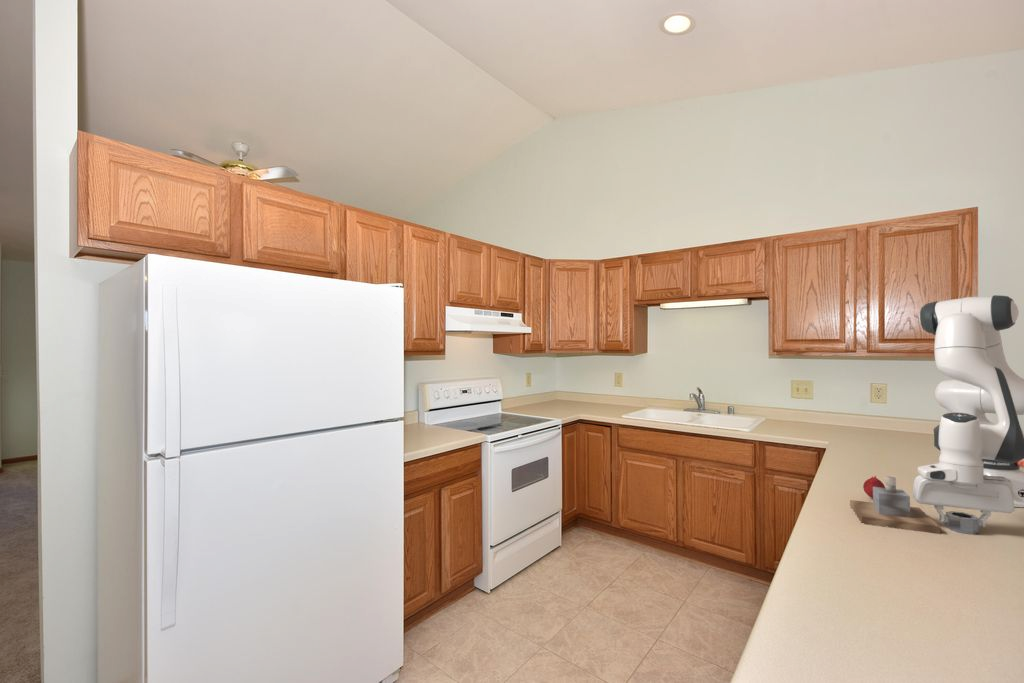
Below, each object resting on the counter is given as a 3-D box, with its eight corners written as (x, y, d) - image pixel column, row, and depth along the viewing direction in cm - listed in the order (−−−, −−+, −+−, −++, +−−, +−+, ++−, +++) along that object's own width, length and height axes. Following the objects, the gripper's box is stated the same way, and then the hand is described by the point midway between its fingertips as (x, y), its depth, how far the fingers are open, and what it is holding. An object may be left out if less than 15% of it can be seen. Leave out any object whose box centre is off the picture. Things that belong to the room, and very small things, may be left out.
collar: (972, 527, 129) (971, 513, 129) (982, 535, 123) (981, 520, 123) (943, 524, 131) (943, 510, 131) (952, 531, 126) (951, 517, 126)
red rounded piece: (889, 503, 149) (889, 478, 149) (869, 502, 150) (869, 477, 151) (879, 497, 155) (879, 473, 155) (859, 496, 156) (859, 472, 156)
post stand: (919, 514, 139) (918, 474, 139) (939, 533, 125) (938, 488, 125) (850, 506, 147) (849, 468, 147) (861, 523, 132) (860, 481, 132)
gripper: (1006, 474, 126) (1008, 526, 125) (910, 466, 135) (911, 514, 135) (1019, 480, 120) (1020, 534, 120) (917, 471, 129) (918, 521, 129)
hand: (962, 523), depth 127 cm, fingers closed on collar, 6 cm apart
